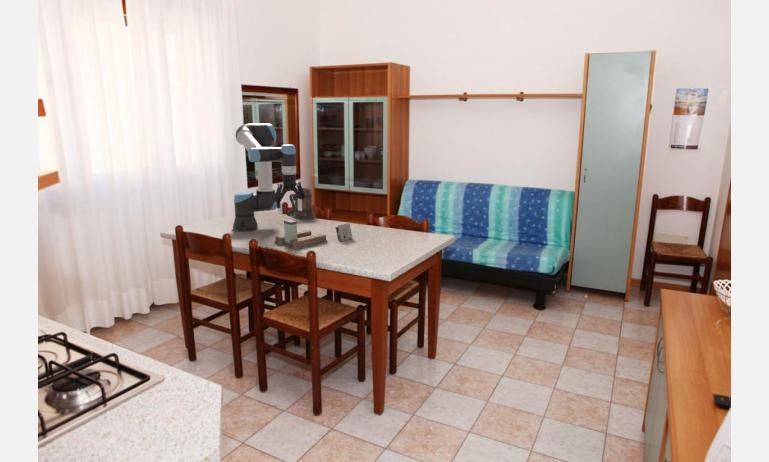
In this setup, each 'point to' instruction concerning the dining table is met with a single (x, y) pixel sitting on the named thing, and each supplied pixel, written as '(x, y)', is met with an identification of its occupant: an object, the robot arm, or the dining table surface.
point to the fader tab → (290, 230)
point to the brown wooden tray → (302, 240)
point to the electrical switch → (344, 232)
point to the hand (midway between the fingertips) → (290, 212)
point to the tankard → (306, 207)
